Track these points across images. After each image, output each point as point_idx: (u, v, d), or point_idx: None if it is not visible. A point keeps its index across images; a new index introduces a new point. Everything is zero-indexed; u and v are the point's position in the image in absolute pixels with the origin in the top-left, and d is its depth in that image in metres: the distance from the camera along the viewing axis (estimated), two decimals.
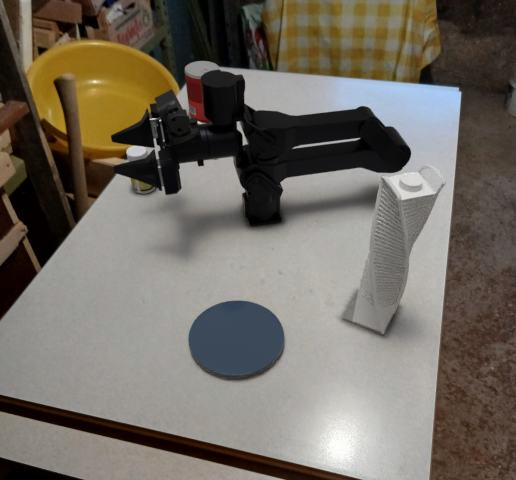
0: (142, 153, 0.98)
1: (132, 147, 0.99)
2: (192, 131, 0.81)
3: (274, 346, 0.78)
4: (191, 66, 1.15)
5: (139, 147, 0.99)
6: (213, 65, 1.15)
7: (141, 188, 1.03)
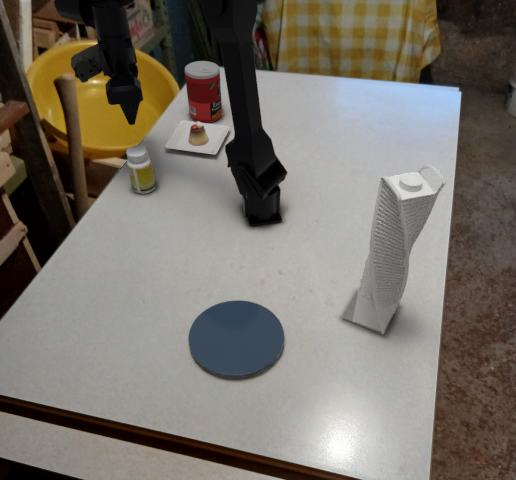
0: (142, 153, 0.98)
1: (132, 147, 0.99)
2: None
3: (274, 346, 0.78)
4: (191, 66, 1.15)
5: (139, 147, 0.99)
6: (213, 65, 1.15)
7: (141, 188, 1.03)
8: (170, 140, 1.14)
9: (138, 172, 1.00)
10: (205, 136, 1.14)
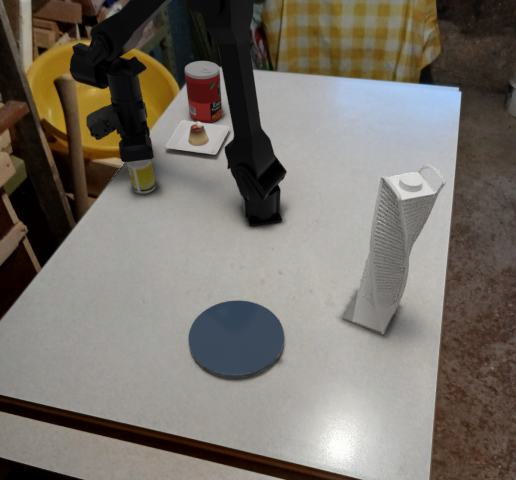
0: None
1: None
2: (112, 111, 0.95)
3: (274, 346, 0.78)
4: (191, 66, 1.15)
5: None
6: (213, 65, 1.15)
7: (141, 188, 1.03)
8: (170, 140, 1.14)
9: (138, 172, 1.00)
10: (205, 136, 1.14)
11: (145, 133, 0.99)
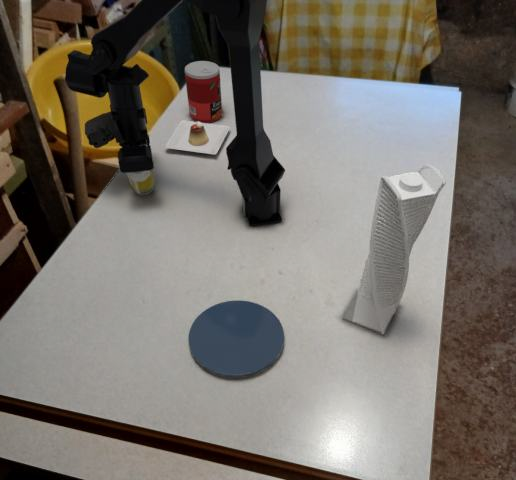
0: None
1: None
2: None
3: (274, 346, 0.78)
4: (191, 66, 1.15)
5: None
6: (213, 65, 1.15)
7: (142, 191, 1.02)
8: (170, 140, 1.14)
9: (139, 183, 0.98)
10: (205, 136, 1.14)
11: (145, 142, 0.97)
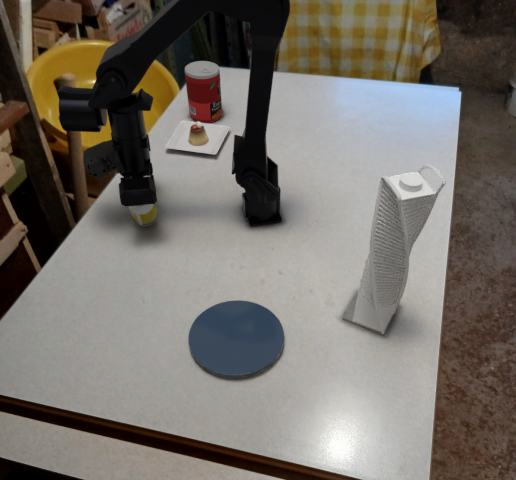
0: None
1: None
2: None
3: (274, 346, 0.78)
4: (191, 66, 1.15)
5: None
6: (213, 65, 1.15)
7: (144, 223, 0.96)
8: (170, 140, 1.14)
9: (142, 216, 0.92)
10: (205, 136, 1.14)
11: (148, 172, 0.91)
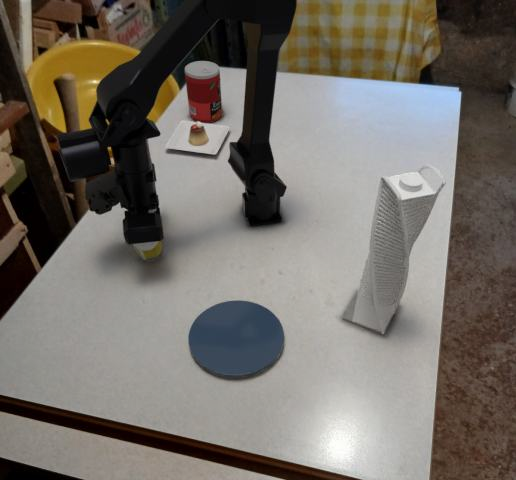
0: None
1: None
2: (116, 184, 0.81)
3: (274, 346, 0.78)
4: (191, 66, 1.15)
5: None
6: (213, 65, 1.15)
7: (148, 258, 0.90)
8: (170, 140, 1.14)
9: (145, 252, 0.87)
10: (205, 136, 1.14)
11: (154, 205, 0.85)
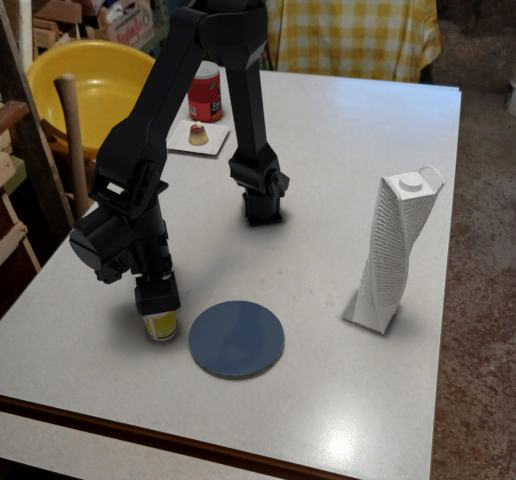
0: None
1: None
2: None
3: (274, 346, 0.78)
4: None
5: None
6: (213, 65, 1.15)
7: (159, 336, 0.79)
8: (170, 140, 1.14)
9: (155, 321, 0.76)
10: (205, 136, 1.14)
11: (168, 270, 0.76)
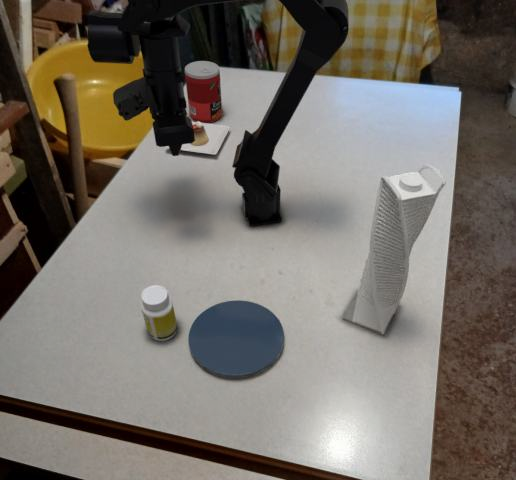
0: (161, 299, 0.75)
1: (149, 289, 0.76)
2: (145, 85, 0.79)
3: (274, 346, 0.78)
4: (191, 66, 1.15)
5: (158, 289, 0.76)
6: (213, 65, 1.15)
7: (159, 335, 0.79)
8: None
9: (156, 320, 0.76)
10: (205, 136, 1.14)
11: (183, 113, 0.83)
